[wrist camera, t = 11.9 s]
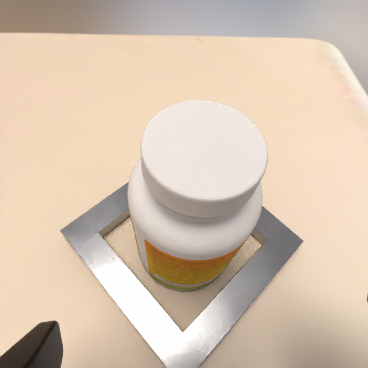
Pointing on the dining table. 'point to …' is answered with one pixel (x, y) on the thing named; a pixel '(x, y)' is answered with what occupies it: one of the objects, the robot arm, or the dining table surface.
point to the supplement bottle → (195, 191)
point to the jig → (148, 307)
